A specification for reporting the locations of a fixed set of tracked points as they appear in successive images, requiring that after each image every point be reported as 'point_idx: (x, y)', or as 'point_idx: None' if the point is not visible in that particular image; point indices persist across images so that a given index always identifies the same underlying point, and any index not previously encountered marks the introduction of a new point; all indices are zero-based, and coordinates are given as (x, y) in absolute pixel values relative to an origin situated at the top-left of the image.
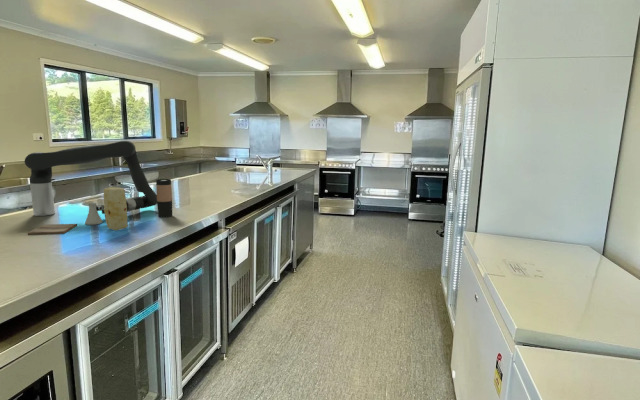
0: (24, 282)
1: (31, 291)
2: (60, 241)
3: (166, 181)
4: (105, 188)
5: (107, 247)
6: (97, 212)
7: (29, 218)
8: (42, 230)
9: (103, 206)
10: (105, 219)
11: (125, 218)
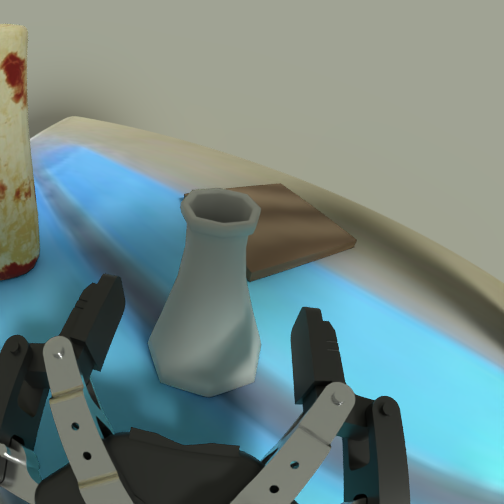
0: (78, 121)
1: (62, 120)
2: (131, 168)
3: None
4: (20, 26)
5: None
6: (181, 304)
7: (495, 304)
8: (266, 195)
9: (355, 500)
10: (36, 208)
11: None
